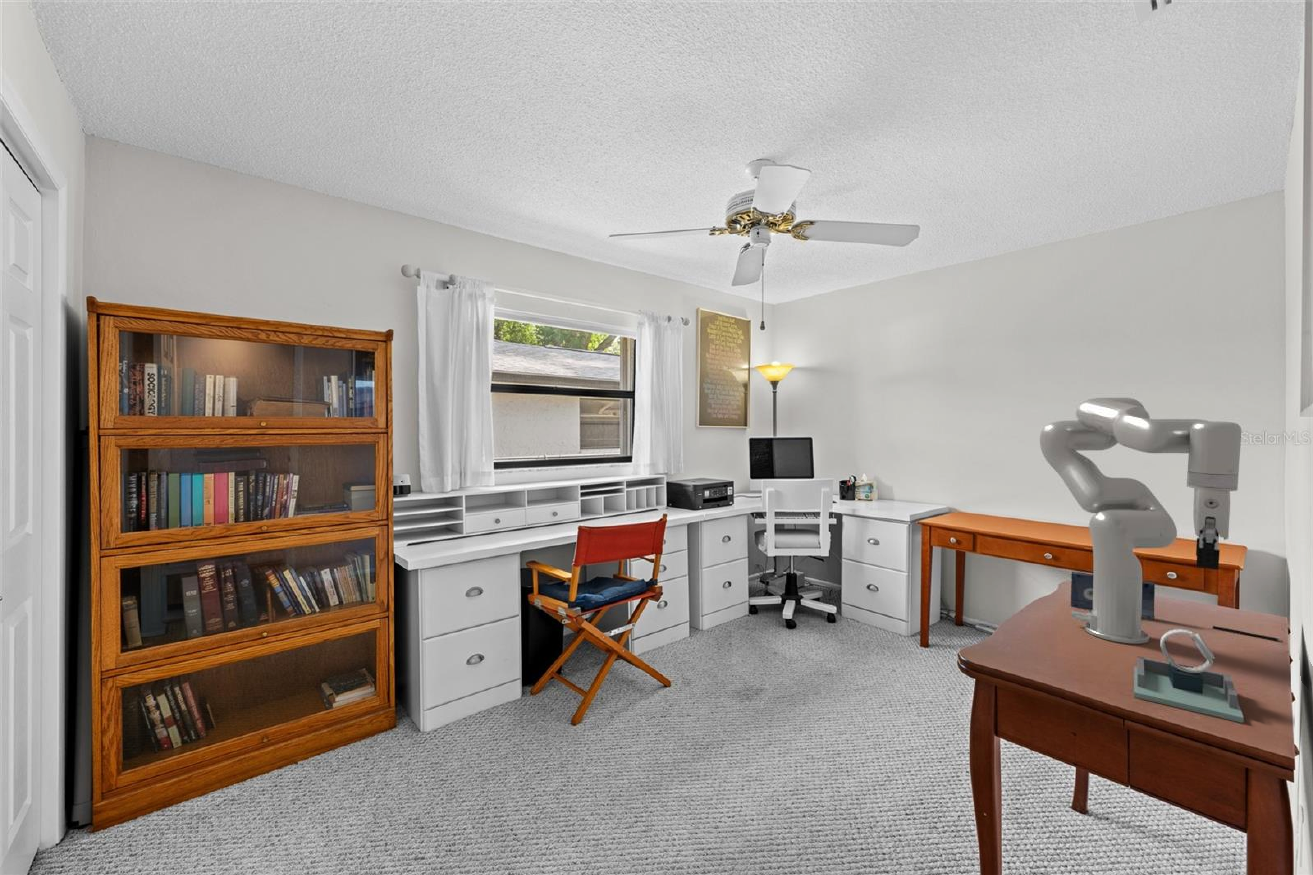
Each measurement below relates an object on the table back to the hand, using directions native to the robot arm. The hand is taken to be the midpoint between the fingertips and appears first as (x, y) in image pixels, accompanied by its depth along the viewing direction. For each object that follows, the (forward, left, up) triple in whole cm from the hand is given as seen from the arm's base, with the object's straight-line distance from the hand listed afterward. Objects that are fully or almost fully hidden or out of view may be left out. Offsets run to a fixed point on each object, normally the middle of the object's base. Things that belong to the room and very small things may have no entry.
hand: (1206, 562), depth 118 cm
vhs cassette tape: (-16, +39, -25) cm, 49 cm away
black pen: (+10, +39, -25) cm, 48 cm away
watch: (-3, -9, -24) cm, 26 cm away
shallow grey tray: (-4, -12, -25) cm, 28 cm away
